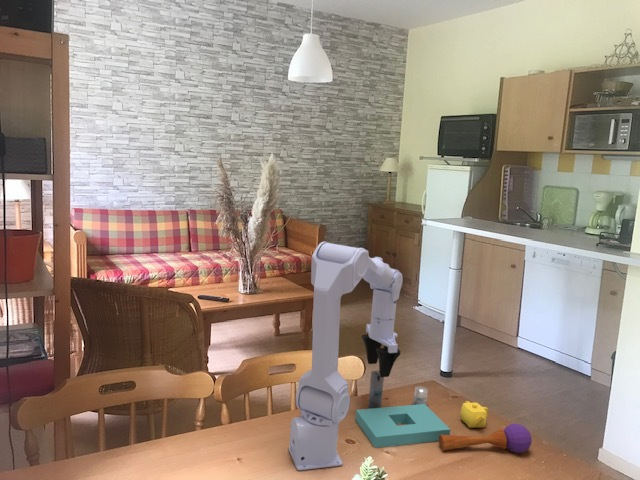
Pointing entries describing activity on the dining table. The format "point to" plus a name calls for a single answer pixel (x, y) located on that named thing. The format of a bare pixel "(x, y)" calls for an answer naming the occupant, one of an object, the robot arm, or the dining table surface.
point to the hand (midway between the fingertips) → (378, 369)
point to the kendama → (492, 439)
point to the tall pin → (375, 390)
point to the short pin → (420, 395)
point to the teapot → (474, 414)
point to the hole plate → (386, 432)
